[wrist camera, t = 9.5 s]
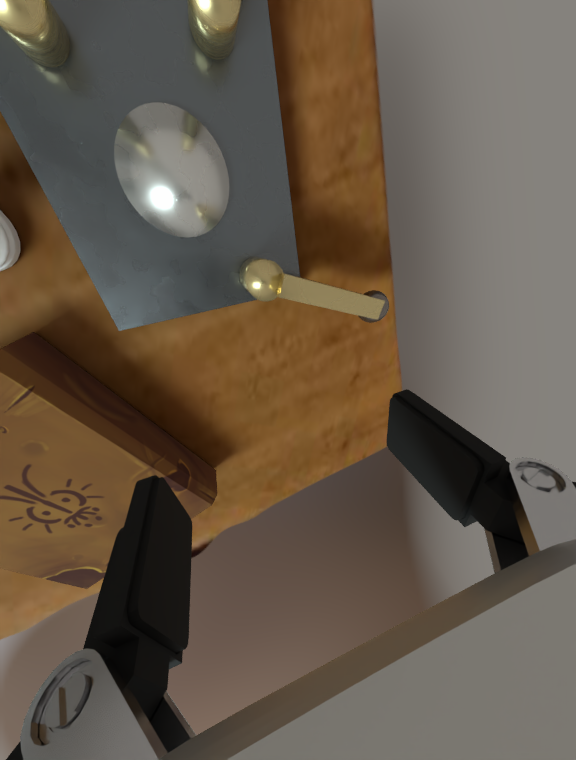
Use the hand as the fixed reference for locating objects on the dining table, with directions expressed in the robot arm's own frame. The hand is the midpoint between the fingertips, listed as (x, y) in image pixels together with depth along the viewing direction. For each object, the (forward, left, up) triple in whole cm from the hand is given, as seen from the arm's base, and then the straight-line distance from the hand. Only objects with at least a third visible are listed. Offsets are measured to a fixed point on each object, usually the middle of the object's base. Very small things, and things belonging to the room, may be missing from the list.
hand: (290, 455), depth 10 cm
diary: (+10, -20, -19) cm, 29 cm away
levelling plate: (-12, -1, -18) cm, 21 cm away
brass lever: (-3, +7, -16) cm, 17 cm away
